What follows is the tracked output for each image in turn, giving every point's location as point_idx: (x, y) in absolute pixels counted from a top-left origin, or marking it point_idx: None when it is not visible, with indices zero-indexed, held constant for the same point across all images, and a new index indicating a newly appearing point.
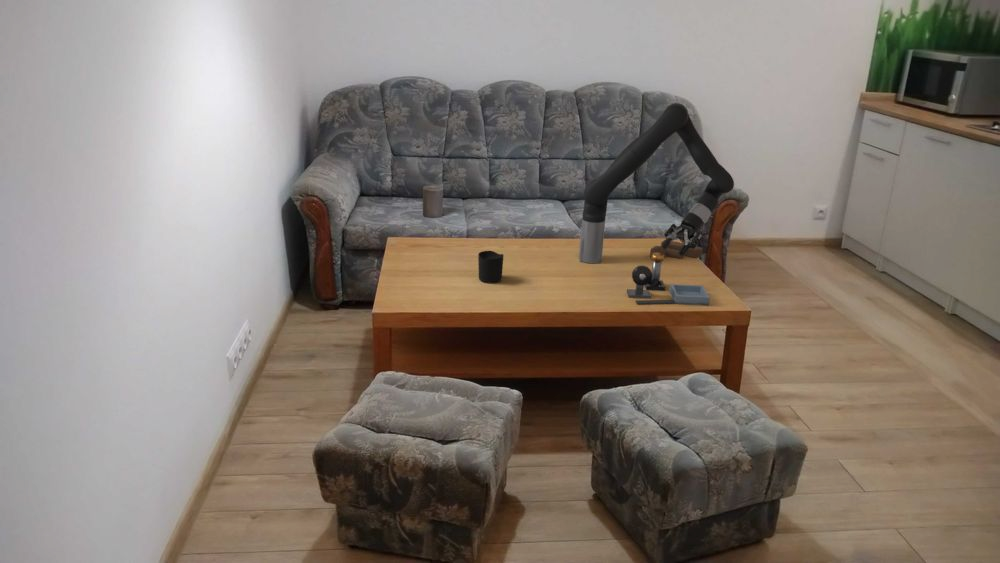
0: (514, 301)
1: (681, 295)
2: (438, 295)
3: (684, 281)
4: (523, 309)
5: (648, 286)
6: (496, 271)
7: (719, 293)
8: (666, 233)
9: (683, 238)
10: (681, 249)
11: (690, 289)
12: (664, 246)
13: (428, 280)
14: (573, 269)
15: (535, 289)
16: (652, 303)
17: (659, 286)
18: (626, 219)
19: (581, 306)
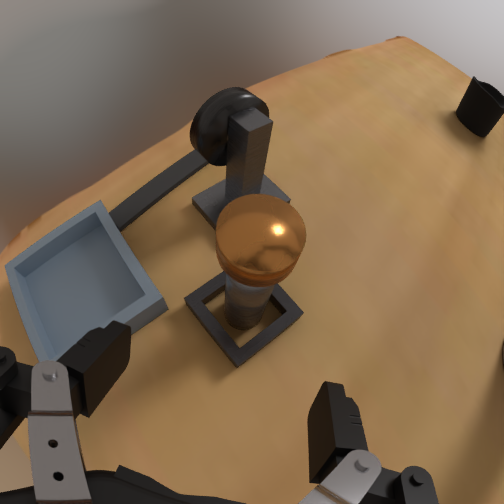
0: (378, 73)
1: (85, 216)
2: (432, 67)
3: (179, 472)
4: (344, 59)
5: None
6: (464, 98)
7: None
8: (416, 491)
9: (117, 472)
10: (101, 336)
11: None
12: (320, 400)
13: None
14: (489, 256)
15: (413, 115)
16: (168, 170)
17: (208, 286)
18: None
19: (296, 89)
